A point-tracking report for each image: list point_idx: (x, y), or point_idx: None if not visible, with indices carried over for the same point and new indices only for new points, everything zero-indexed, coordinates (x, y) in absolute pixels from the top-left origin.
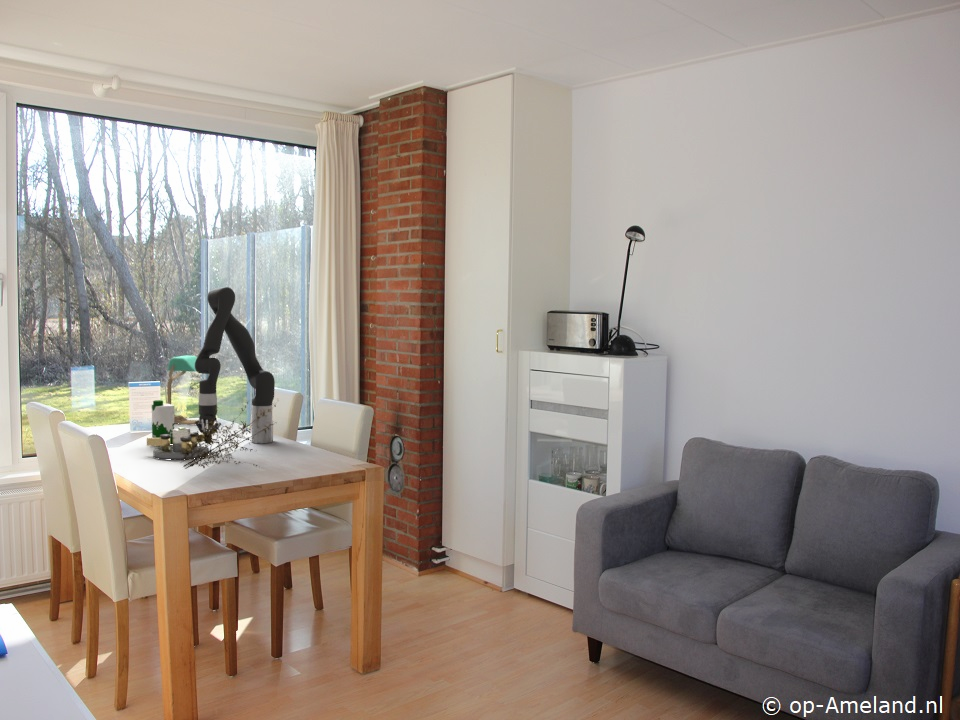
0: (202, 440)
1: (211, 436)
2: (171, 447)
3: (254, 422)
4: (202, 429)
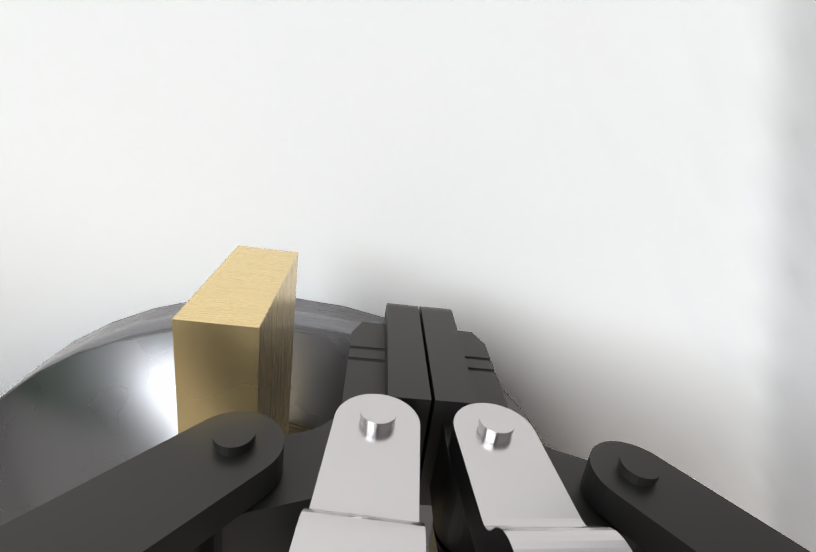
0: (288, 369)
1: (504, 405)
2: None
3: None
4: (116, 495)
